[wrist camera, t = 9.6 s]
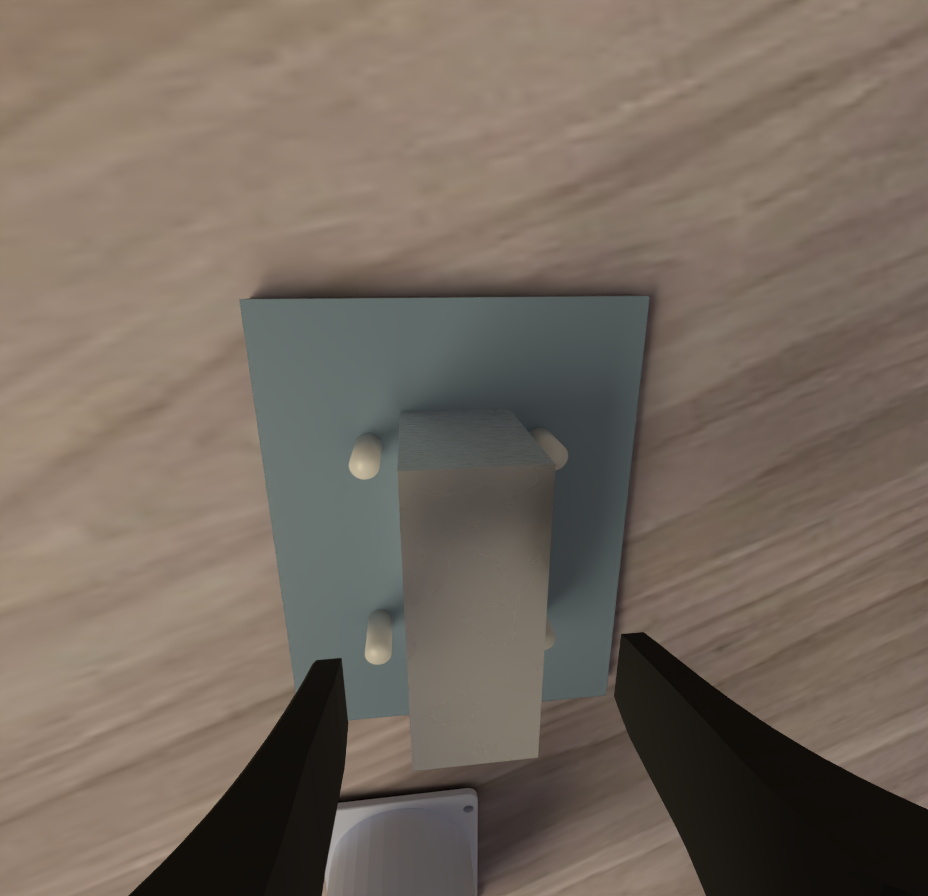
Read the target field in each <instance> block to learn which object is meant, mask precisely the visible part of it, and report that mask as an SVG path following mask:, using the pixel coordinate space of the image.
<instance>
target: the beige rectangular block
mask: <svg viewBox="0 0 928 896" xmlns="http://www.w3.org/2000/svg"><path fill="white" fill-rule="evenodd" d="M397 473H398V493H399V513H400V533H401V553H402V573H403V593H404V614H405V634H406V654H407V674H408V694H409V714H410V734H411V754H412V771H420V770H429V769H438V768H447V767H456V766H466V765H475V764H484V763H493V762H502V761H511V760H521V759H530V758H538V750H539V733H540V717H541V700H542V683H543V666H544V649H545V632H546V615H547V598H548V581H549V565H550V548H551V531H552V514H553V497H554V480H555V463H554V462H553V461H552V460H551V458H550V457H549V456H548V455H547V454H546V452H545V451H544V450H543V449H542V448H541V446H540V445H539V444H538V443H537V442H536V440H535V439H534V438H533V437H532V436H531V434H530V433H529V432H528V431H527V430H526V428H525V427H524V426H523V425H522V424H521V422H520V421H519V420H518V419H517V418H516V416H515V415H514V414H513V413H512V412H511V410H510V409H509V408H497V409H465V410H433V411H401V412H400V416H399V443H398V469H397Z"/></svg>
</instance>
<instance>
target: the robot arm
mask: <svg viewBox="0 0 928 896" xmlns="http://www.w3.org/2000/svg"><path fill="white" fill-rule="evenodd" d="M614 697H615V700H616V703H617V705H618V708H619V711H620V714H621V716H622V719H623V722H624V724H625V727H626V729H627V732H628V734H629V737H630V739H631V741H632V743H633V745H634V747H635V749H636V751H637V753H638V755H639V756H640V758H641V760H642V762H643V764H644V766H645V768H646V770H647V772H648V774H649V776H650V778H651V780H652V782H653V784H654V786H655V787H656V789H657V791H658V793H659V795H660V797H661V799H662V801H663V803H664V805H665V807H666V809H667V811H668V812H669V814H670V816H671V818H672V820H673V822H674V824H675V826H676V828H677V830H678V832H679V834H680V836H681V838H682V840H683V842H684V845H685V847H686V849H687V851H688V853H689V856H690V858H691V860H692V863H693V865H694V868H695V870H696V872H697V875H698V877H699V880H700V882H701V884H702V887H703V889H704V892H705V894H706V896H928V809H926V808H923V807H921V806H919V805H917V804H914V803H912V802H910V801H908V800H906V799H904V798H901V797H899V796H897V795H895V794H893V793H891V792H888V791H886V790H884V789H882V788H880V787H878V786H876V785H874V784H872V783H870V782H868V781H866V780H864V779H862V778H860V777H858V776H856V775H854V774H852V773H850V772H849V771H847V770H845V769H843V768H841V767H839V766H837V765H835V764H833V763H832V762H830V761H828V760H826V759H824V758H822V757H821V756H819V755H817V754H815V753H814V752H812V751H810V750H808V749H806V748H805V747H803V746H801V745H800V744H798V743H797V742H795V741H793V740H792V739H790V738H788V737H787V736H785V735H783V734H782V733H780V732H778V731H777V730H775V729H774V728H772V727H771V726H769V725H767V724H766V723H764V722H763V721H761V720H760V719H758V718H757V717H755V716H754V715H752V714H751V713H750V712H748V711H747V710H745V709H744V708H742V707H741V706H739V705H738V704H737V703H735V702H734V701H732V700H731V699H730V698H728V697H727V696H725V695H724V694H723V693H721V692H720V691H719V690H717V689H716V688H715V687H713V686H712V685H711V684H709V683H708V682H707V681H705V680H704V679H703V678H701V677H700V676H699V675H697V674H696V673H695V672H694V671H692V670H691V669H690V668H688V667H687V666H686V665H685V664H683V663H682V662H681V661H680V660H678V659H677V658H676V657H675V656H673V655H672V654H671V653H670V652H668V651H667V650H666V649H664V648H663V647H662V646H661V645H659V644H658V643H657V642H656V641H654V640H653V639H652V638H650V637H649V636H648V635H646V634H645V633H644V632H641V633H629V634H621V641H620V650H619V658H618V667H617V676H616V684H615V693H614ZM347 732H348V715H347V705H346V696H345V686H344V676H343V666H342V658H334V659H322V660H316V661H315V662H314V663H313V664H312V666H311V667H310V669H309V671H308V673H307V675H306V677H305V678H304V680H303V682H302V684H301V685H300V687H299V689H298V691H297V692H296V694H295V696H294V697H293V699H292V700H291V702H290V704H289V705H288V707H287V708H286V710H285V712H284V713H283V715H282V716H281V718H280V719H279V721H278V722H277V724H276V725H275V727H274V728H273V730H272V731H271V733H270V734H269V736H268V737H267V739H266V740H265V741H264V743H263V744H262V746H261V747H260V748H259V750H258V751H257V752H256V754H255V755H254V757H253V758H252V759H251V761H250V762H249V763H248V765H247V766H246V767H245V769H244V770H243V771H242V773H241V774H240V775H239V777H238V778H237V779H236V780H235V782H234V783H233V784H232V785H231V787H230V788H229V789H228V790H227V792H226V793H225V794H224V795H223V796H222V798H221V799H220V800H219V801H218V802H217V804H216V805H215V806H214V807H213V808H212V810H211V811H210V812H209V813H208V814H207V815H206V816H205V818H204V819H203V820H202V821H201V822H200V823H199V824H198V825H197V826H196V827H195V829H194V830H193V831H192V832H191V833H190V834H189V835H188V836H187V837H186V838H185V840H184V841H183V842H182V843H181V844H180V845H179V846H178V847H177V848H176V849H175V850H174V851H173V852H172V853H171V854H170V855H169V856H168V858H167V859H166V860H165V861H164V862H163V863H162V864H161V865H160V866H159V867H158V868H157V869H155V870H154V871H153V872H152V873H151V874H150V875H149V876H148V877H147V878H146V879H145V880H144V881H143V882H142V883H141V884H140V885H139V886H138V887H137V888H136V889H135V890H134V891H133V892H132V893H131V894H130V895H129V896H322V890H323V883H324V876H325V880H326V888H327V896H477V864H478V797H477V792H476V791H475V790H474V789H472V788H463V789H455V790H446V791H437V792H429V793H420V794H411V795H402V796H394V797H385V798H376V799H368V800H359V801H350V802H342V803H338V801H339V795H340V790H341V784H342V779H343V773H344V767H345V756H346V745H347Z"/></svg>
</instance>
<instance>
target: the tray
mask: <svg viewBox="0 0 928 896" xmlns="http://www.w3.org/2000/svg"><path fill="white" fill-rule="evenodd" d="M649 298H650V296H639V295H628V296H502V297H376V298H250V299H239V300H240V307H241V314H242V321H243V328H244V335H245V342H246V349H247V356H248V363H249V370H250V377H251V384H252V391H253V398H254V405H255V412H256V419H257V426H258V433H259V440H260V447H261V454H262V461H263V468H264V474H265V481H266V488H267V495H268V502H269V509H270V516H271V523H272V530H273V537H274V544H275V551H276V558H277V565H278V572H279V579H280V586H281V593H282V600H283V607H284V614H285V621H286V628H287V635H288V642H289V649H290V656H291V663H292V670H293V677H294V684H295V691H296V692H297V691H298V689H299V687H300V685H301V684H302V682H303V680H304V678H305V677H306V675H307V673H308V671H309V669H310V667H311V666H312V664H313V663H314V662H315V661H316V660H322V659H334V658H342V666H343V676H344V686H345V696H346V705H347V715H348V720H358V719H368V718H378V717H389V716H399V715H409V694H408V674H407V654H406V634H405V614H404V593H403V573H402V553H401V533H400V513H399V493H398V473H397V469H398V443H399V416H400V412H401V411H433V410H465V409H497V408H509V409H510V410H511V412H512V413H513V414H514V415H515V416H516V418H517V419H518V420H519V421H520V422H521V424H522V425H523V426H524V427H525V428H526V430H527V431H528V432H529V433H530V434H531V436H532V437H533V438H534V439H535V440H536V442H537V443H538V444H539V445H540V446H541V448H542V449H543V450H544V451H545V452H546V454H547V455H548V456H549V457H550V458H551V460H552V461H553V462H554V463H555V480H554V497H553V514H552V531H551V548H550V565H549V581H548V598H547V615H546V632H545V649H544V666H543V683H542V700H541V702H542V701H552V700H563V699H573V698H583V697H593V696H603V695H606V689H607V680H608V671H609V661H610V652H611V643H612V634H613V625H614V616H615V607H616V598H617V589H618V580H619V571H620V562H621V553H622V543H623V534H624V525H625V516H626V507H627V498H628V489H629V480H630V471H631V462H632V453H633V444H634V435H635V426H636V416H637V407H638V398H639V389H640V380H641V371H642V362H643V353H644V344H645V335H646V326H647V317H648V308H649Z"/></svg>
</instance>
